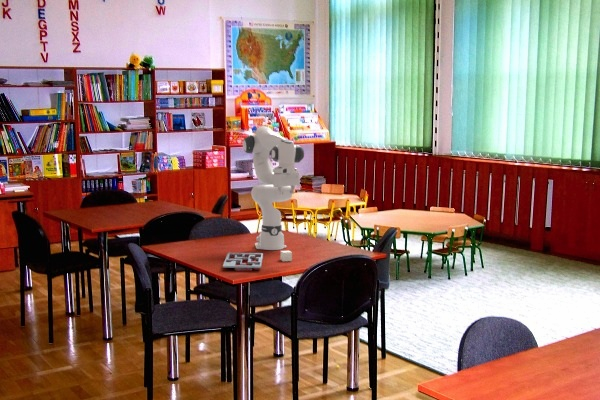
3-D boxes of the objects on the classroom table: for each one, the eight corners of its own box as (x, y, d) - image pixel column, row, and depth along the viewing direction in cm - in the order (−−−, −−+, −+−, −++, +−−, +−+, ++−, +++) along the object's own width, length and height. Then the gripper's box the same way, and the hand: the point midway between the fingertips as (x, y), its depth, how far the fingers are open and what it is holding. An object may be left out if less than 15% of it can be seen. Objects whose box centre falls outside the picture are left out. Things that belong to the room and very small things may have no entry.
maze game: (228, 258, 406) (228, 252, 405) (262, 258, 406) (263, 253, 406) (222, 272, 371) (222, 265, 370) (260, 272, 371) (260, 266, 371)
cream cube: (280, 259, 402) (280, 250, 402) (289, 259, 404) (289, 250, 403) (283, 261, 398) (283, 252, 397) (291, 261, 399) (291, 252, 398)
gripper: (293, 168, 408) (293, 192, 410) (270, 169, 392) (270, 195, 393) (302, 168, 404) (302, 193, 406) (279, 170, 388) (279, 196, 390)
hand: (286, 194), depth 399 cm, fingers open, 8 cm apart
